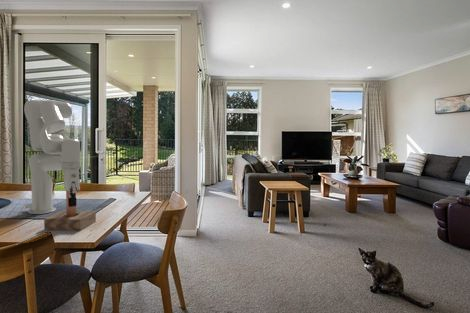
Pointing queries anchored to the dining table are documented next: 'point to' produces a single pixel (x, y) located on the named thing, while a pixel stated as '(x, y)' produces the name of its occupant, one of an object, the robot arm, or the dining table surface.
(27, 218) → the dining table surface
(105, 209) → the dining table surface
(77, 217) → the socket block
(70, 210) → the peg
